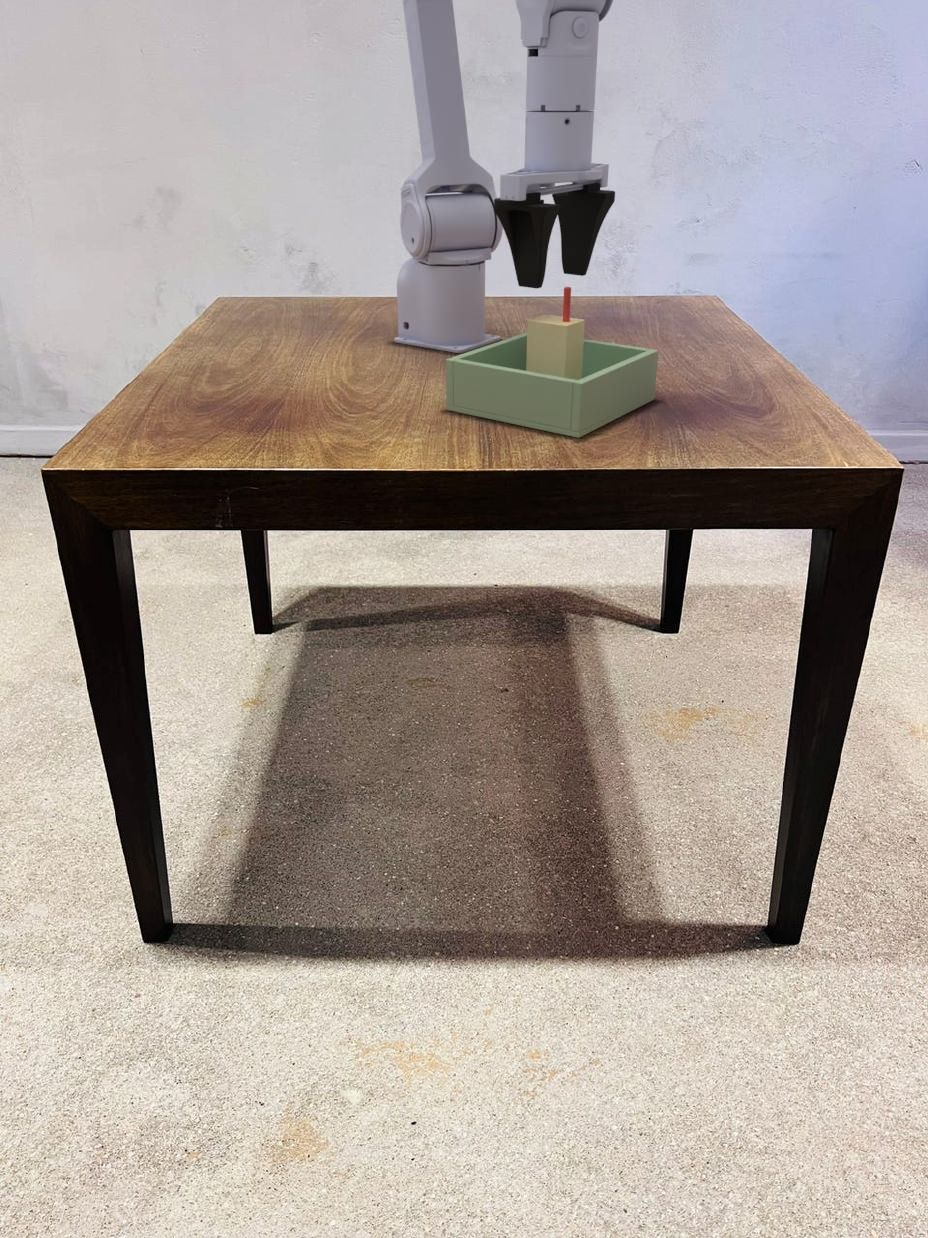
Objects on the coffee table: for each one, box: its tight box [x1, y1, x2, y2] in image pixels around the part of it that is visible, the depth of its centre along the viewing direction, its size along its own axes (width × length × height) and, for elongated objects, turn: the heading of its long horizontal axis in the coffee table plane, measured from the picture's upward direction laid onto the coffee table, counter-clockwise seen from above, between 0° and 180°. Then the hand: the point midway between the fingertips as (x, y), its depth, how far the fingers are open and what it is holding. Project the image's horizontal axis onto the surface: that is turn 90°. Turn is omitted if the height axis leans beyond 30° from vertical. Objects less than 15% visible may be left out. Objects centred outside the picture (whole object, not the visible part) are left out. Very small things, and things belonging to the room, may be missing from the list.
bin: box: [445, 331, 659, 439], centre depth 87 cm, size 14×14×4 cm
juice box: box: [526, 286, 586, 380], centre depth 86 cm, size 4×3×10 cm
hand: (553, 280), depth 89 cm, fingers open, 7 cm apart
